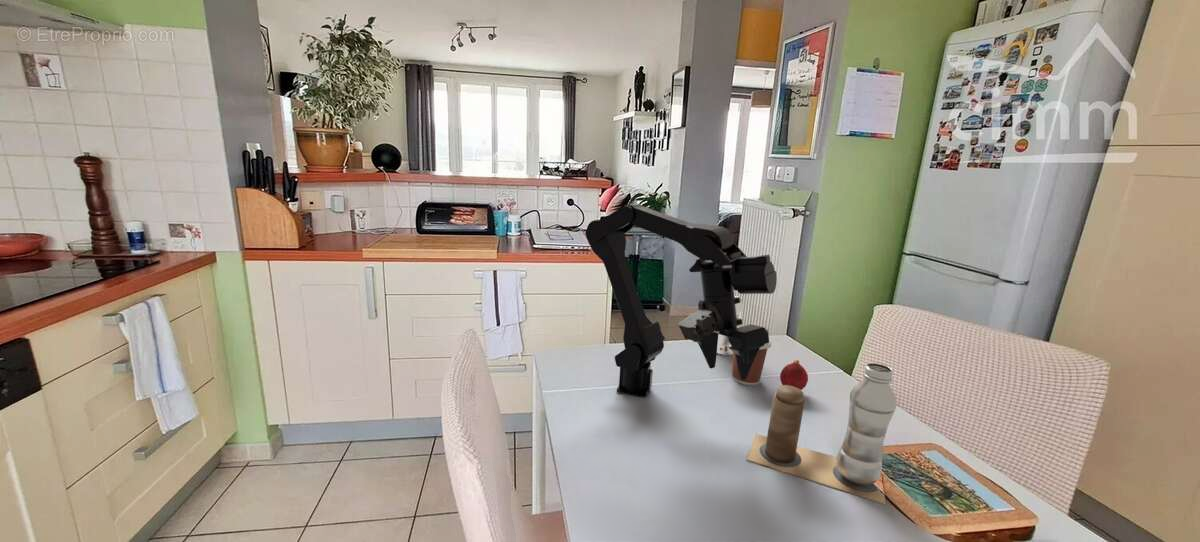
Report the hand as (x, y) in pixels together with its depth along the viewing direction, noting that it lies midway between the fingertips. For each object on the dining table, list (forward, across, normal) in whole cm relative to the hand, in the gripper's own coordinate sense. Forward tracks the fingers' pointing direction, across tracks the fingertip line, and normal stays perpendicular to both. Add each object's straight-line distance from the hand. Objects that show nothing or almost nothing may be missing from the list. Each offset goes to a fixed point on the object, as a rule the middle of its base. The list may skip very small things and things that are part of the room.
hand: (727, 373), depth 90 cm
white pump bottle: (+8, -31, +23) cm, 39 cm away
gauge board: (+15, +14, +5) cm, 21 cm away
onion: (+12, -7, +22) cm, 26 cm away
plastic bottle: (+16, +19, +9) cm, 26 cm away
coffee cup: (+10, -16, +17) cm, 25 cm away
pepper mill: (+13, +10, +2) cm, 16 cm away
